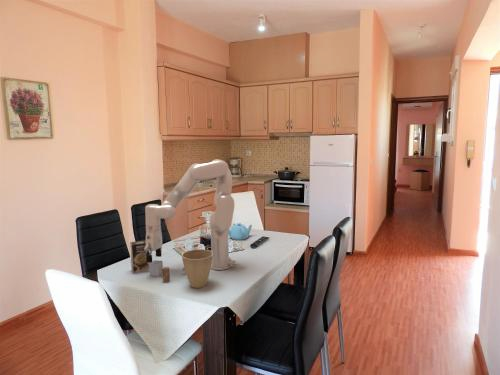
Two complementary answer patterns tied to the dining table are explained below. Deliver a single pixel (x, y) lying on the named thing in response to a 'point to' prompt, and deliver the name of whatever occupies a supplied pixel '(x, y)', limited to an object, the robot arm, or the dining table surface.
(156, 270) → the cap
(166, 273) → the post
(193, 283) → the plant pot
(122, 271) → the dining table surface
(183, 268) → the short post
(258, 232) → the dining table surface
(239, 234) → the teapot
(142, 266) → the coffee box
